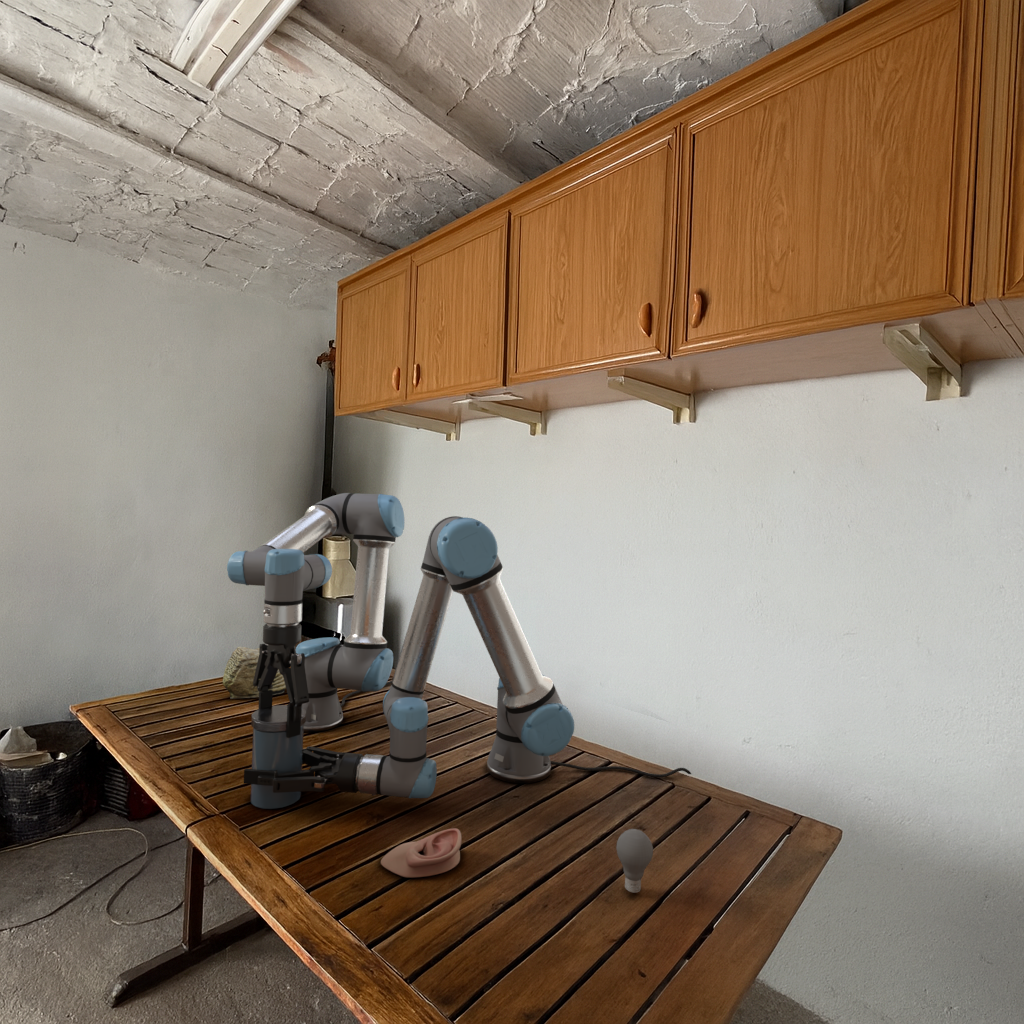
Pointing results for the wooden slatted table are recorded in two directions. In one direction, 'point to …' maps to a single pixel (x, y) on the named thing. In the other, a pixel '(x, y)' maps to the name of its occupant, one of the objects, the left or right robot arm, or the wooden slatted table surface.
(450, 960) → the wooden slatted table surface
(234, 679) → the fossil
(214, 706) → the wooden slatted table surface
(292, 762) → the jar
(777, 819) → the wooden slatted table surface
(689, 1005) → the wooden slatted table surface
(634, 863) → the light bulb
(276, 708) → the lid
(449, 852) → the anatomical model
